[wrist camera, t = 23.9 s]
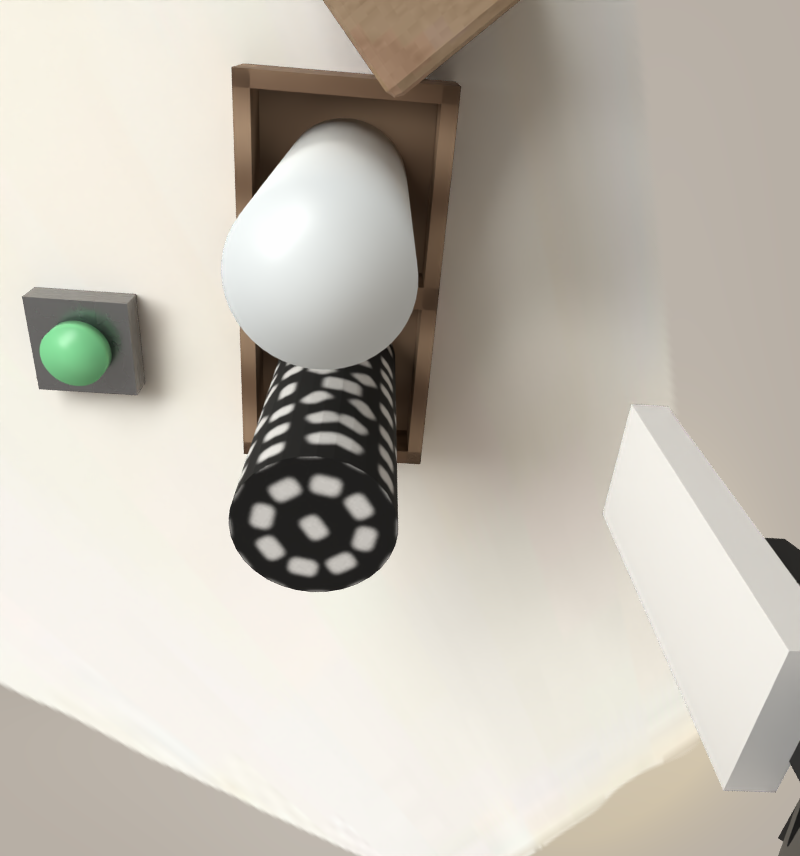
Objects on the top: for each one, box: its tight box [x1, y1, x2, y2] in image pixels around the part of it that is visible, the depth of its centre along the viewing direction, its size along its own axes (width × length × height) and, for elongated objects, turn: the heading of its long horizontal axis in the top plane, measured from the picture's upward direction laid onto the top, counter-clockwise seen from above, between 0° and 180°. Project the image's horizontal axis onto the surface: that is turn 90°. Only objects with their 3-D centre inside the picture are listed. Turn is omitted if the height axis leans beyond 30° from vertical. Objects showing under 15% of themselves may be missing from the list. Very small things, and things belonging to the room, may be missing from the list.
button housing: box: [22, 287, 145, 395], centre depth 52 cm, size 7×7×2 cm
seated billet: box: [221, 118, 418, 370], centre depth 38 cm, size 8×8×20 cm
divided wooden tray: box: [232, 64, 461, 464], centre depth 49 cm, size 26×13×4 cm, turn 175°
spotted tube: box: [229, 343, 398, 592], centre depth 44 cm, size 8×8×20 cm
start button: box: [40, 321, 112, 386], centre depth 51 cm, size 4×4×3 cm
